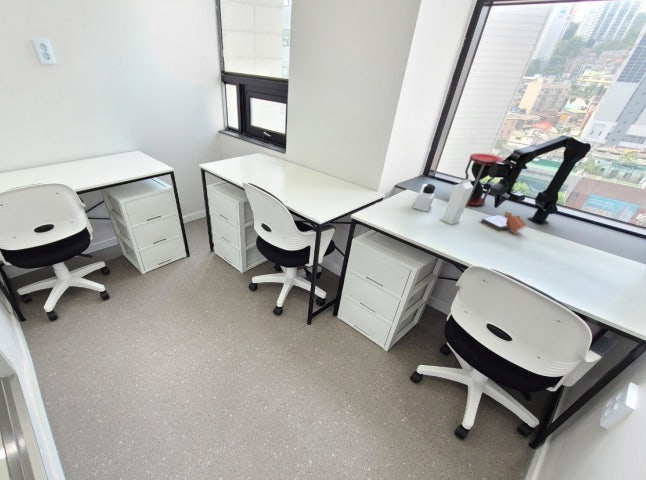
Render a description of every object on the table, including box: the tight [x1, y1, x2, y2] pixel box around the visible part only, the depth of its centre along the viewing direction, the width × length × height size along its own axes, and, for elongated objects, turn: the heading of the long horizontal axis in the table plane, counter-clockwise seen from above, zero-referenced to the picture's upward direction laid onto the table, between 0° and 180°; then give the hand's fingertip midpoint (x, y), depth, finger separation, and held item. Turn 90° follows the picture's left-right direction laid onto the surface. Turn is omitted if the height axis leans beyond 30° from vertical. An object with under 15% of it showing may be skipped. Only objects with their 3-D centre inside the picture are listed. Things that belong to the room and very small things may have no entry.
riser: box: [480, 214, 510, 232], centre depth 158 cm, size 12×10×2 cm
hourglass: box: [459, 153, 505, 207], centre depth 175 cm, size 16×16×25 cm
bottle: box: [503, 211, 528, 234], centre depth 152 cm, size 11×6×8 cm, turn 23°
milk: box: [441, 178, 473, 225], centre depth 154 cm, size 6×6×22 cm
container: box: [412, 183, 436, 212], centre depth 169 cm, size 8×8×13 cm
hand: (495, 207), depth 158 cm, fingers closed
